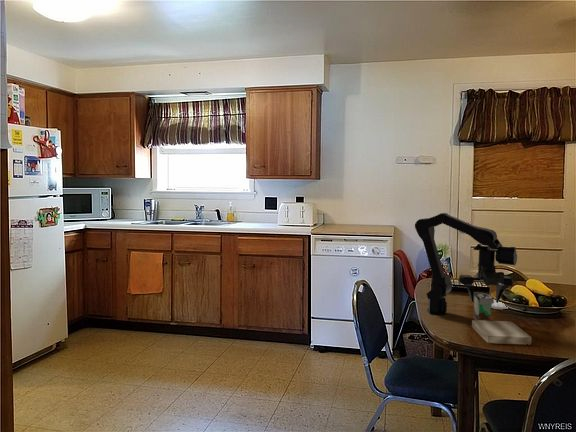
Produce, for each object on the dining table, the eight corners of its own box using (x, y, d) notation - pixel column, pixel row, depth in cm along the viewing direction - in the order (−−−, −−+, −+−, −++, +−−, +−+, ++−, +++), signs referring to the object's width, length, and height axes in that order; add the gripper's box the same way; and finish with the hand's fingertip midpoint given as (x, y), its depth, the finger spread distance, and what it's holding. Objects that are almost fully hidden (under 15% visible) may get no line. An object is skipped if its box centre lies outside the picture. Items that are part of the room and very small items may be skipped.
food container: (496, 326, 178) (497, 299, 177) (479, 325, 179) (480, 299, 178) (489, 317, 190) (490, 292, 189) (473, 316, 191) (474, 291, 190)
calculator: (473, 301, 217) (473, 296, 217) (521, 304, 211) (522, 300, 211) (475, 308, 205) (475, 304, 204) (526, 312, 198) (527, 308, 198)
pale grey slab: (487, 344, 159) (487, 335, 159) (471, 328, 177) (472, 320, 177) (531, 346, 158) (531, 337, 158) (510, 329, 176) (511, 321, 175)
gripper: (467, 265, 175) (465, 306, 177) (520, 266, 174) (517, 308, 175) (459, 260, 186) (457, 299, 188) (508, 261, 185) (506, 301, 186)
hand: (484, 302), depth 184 cm, fingers open, 9 cm apart
